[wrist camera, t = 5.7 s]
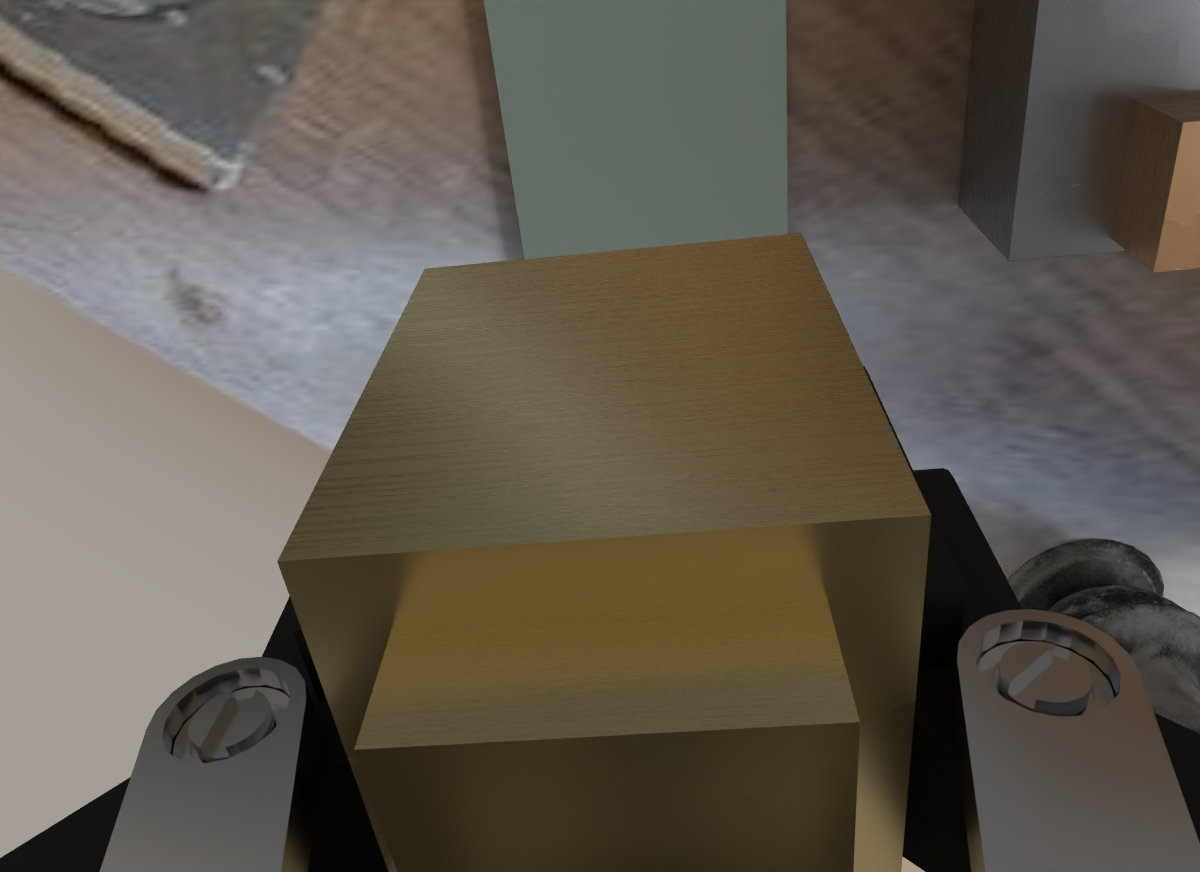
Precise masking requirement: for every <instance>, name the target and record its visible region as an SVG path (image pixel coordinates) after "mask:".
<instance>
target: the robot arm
mask: <svg viewBox="0 0 1200 872" xmlns="http://www.w3.org/2000/svg"><path fill="white" fill-rule="evenodd" d="M863 368H864V370H865V372H866V374H867V376H868V379H869V381H870V383H871V385H872V387H873V390H874V392H875V394H876V396H877V398H878V400H879V403H880V405H881V407H882V409H883V411H884V413H885V416H886V418H887V420H888V422H889V424H890V426H891V429H892V431H893V433H894V435H895V437H896V439H897V442H898V444H899V446H900V448H901V450H902V453H903V455H904V457H905V459H906V461H907V463H908V466H909V468H910V470H911V472H912V474H913V476H914V479H915V481H916V483H917V485H918V487H919V489H920V492H921V494H922V496H923V498H924V500H925V503H926V505H927V507H928V509H929V511H930V513H931V523H930V535H929V547H928V558H927V570H926V582H925V594H924V606H923V618H922V630H921V641H920V653H919V665H918V677H917V689H916V701H915V712H914V724H913V736H912V748H911V760H910V772H909V783H908V795H907V807H906V819H905V831H904V843H903V855H902V856H903V857H905V858H906V859H908V860H909V861H911V862H912V863H914V864H915V865H916V866H918V867H920V868H921V869H922V870H924V871H925V872H1200V734H1199V733H1197V732H1195V731H1193V730H1190V729H1188V728H1186V727H1184V726H1182V725H1180V724H1178V723H1176V722H1173V721H1171V720H1169V719H1167V718H1165V717H1163V716H1161V715H1159V714H1156V713H1154V712H1153V709H1152V706H1151V703H1150V700H1149V697H1148V695H1147V692H1146V689H1145V686H1144V683H1143V680H1142V677H1141V675H1140V672H1139V670H1138V669H1137V667H1136V665H1135V663H1134V662H1133V660H1132V658H1131V657H1130V655H1129V653H1128V652H1127V651H1126V650H1125V649H1124V648H1122V647H1121V646H1120V645H1119V644H1118V643H1117V642H1116V641H1115V640H1114V639H1113V638H1112V637H1111V636H1109V635H1107V634H1106V633H1104V632H1102V631H1101V630H1099V629H1097V628H1095V627H1094V626H1092V625H1090V624H1088V623H1087V622H1084V621H1081V620H1078V619H1075V618H1072V617H1069V616H1066V615H1064V614H1061V613H1055V612H1049V611H1042V610H1036V609H1022V608H1021V606H1020V604H1019V602H1018V600H1017V598H1016V596H1015V594H1014V592H1013V590H1012V588H1011V586H1010V585H1009V583H1008V581H1007V579H1006V577H1005V575H1004V573H1003V571H1002V569H1001V567H1000V565H999V564H998V562H997V560H996V558H995V556H994V554H993V552H992V550H991V548H990V546H989V544H988V542H987V541H986V539H985V537H984V535H983V533H982V531H981V529H980V527H979V525H978V523H977V521H976V520H975V518H974V516H973V514H972V512H971V510H970V508H969V506H968V504H967V502H966V500H965V498H964V497H963V495H962V493H961V491H960V489H959V487H958V485H957V483H956V481H955V479H954V478H953V476H952V475H951V473H950V472H949V471H948V470H946V469H944V468H941V469H928V470H914V471H913V469H912V467H911V465H910V463H909V461H908V459H907V456H906V454H905V452H904V450H903V448H902V446H901V443H900V441H899V439H898V437H897V435H896V433H895V430H894V428H893V426H892V424H891V422H890V420H889V417H888V415H887V413H886V411H885V409H884V407H883V405H882V402H881V400H880V398H879V396H878V394H877V392H876V389H875V387H874V385H873V383H872V381H871V379H870V376H869V374H868V372H867V370H866V368H865V367H864V366H863ZM0 872H388V869H387V866H386V863H385V861H384V858H383V855H382V852H381V849H380V847H379V844H378V841H377V838H376V835H375V833H374V830H373V827H372V824H371V821H370V819H369V816H368V813H367V810H366V808H365V805H364V802H363V799H362V796H361V794H360V791H359V788H358V785H357V782H356V780H355V777H354V774H353V771H352V768H351V766H350V763H349V760H348V757H347V754H346V752H345V749H344V746H343V743H342V740H341V738H340V735H339V732H338V729H337V727H336V724H335V721H334V718H333V715H332V713H331V710H330V707H329V704H328V701H327V699H326V696H325V693H324V690H323V687H322V685H321V682H320V679H319V676H318V673H317V671H316V668H315V665H314V662H313V660H312V657H311V654H310V651H309V648H308V646H307V643H306V640H305V637H304V634H303V632H302V629H301V626H300V623H299V620H298V618H297V615H296V612H295V609H294V606H293V604H292V601H291V598H290V597H289V599H288V601H287V603H286V606H285V608H284V610H283V612H282V614H281V616H280V619H279V621H278V623H277V625H276V627H275V629H274V631H273V634H272V636H271V638H270V640H269V642H268V644H267V647H266V649H265V651H264V653H263V655H262V657H255V658H242V659H238V660H234V661H230V662H227V663H223V664H220V665H217V666H214V667H213V668H211V669H208V670H206V671H204V672H202V673H200V674H198V675H196V676H194V677H193V678H191V679H190V680H189V681H187V682H186V683H184V684H183V685H182V686H180V687H179V688H178V689H176V690H175V691H174V692H172V693H171V695H170V696H169V697H168V698H167V699H166V700H165V701H164V702H163V704H161V706H160V707H159V708H158V709H157V710H156V712H155V714H154V716H153V718H152V720H151V722H150V723H149V725H148V727H147V729H146V732H145V735H144V739H143V741H142V745H141V748H140V751H139V754H138V757H137V760H136V763H135V766H134V769H133V772H132V775H131V777H130V778H129V779H127V780H125V781H124V782H122V783H120V784H119V785H117V786H116V787H114V788H112V789H111V790H109V791H108V792H106V793H104V794H103V795H101V796H100V797H98V798H96V799H95V800H93V801H92V802H90V803H88V804H87V805H85V806H83V807H82V808H80V809H79V810H77V811H75V812H74V813H72V814H71V815H69V816H67V817H66V818H64V819H63V820H61V821H59V822H58V823H56V824H54V825H53V826H51V827H50V828H48V829H47V830H45V831H43V832H42V833H40V834H38V835H37V836H35V837H34V838H32V839H30V840H29V841H27V842H26V843H24V844H22V845H21V846H19V847H17V848H16V849H14V850H13V851H11V852H9V853H8V854H6V855H5V856H3V857H1V858H0Z"/></svg>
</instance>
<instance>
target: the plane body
mask: <svg viewBox="0 0 1200 872" xmlns="http://www.w3.org/2000/svg"><path fill="white" fill-rule="evenodd" d="M959 208H960V209H961V210H962V211H963V212H964V213H965V214H966V215H967V216H968V217H969V218H970V219H971V221H972V222H973V223H974V224H975V225H976V226H977V227H978V228H979V229H980V230H981V231H982V232H983V234H984V235H985V236H986V237H987V238H988V239H989V240H990V241H991V242H992V243H993V244H994V245H995V247H996V248H997V249H998V250H999V251H1000V252H1001V253H1002V254H1003V255H1004V256H1005V257H1006V258H1007V260H1008V261H1015V260H1027V259H1038V258H1049V257H1061V256H1072V255H1084V254H1095V253H1107V252H1118V251H1127V252H1129V253H1130V254H1131V255H1132V256H1134V257H1135V258H1136V259H1137V260H1139V261H1140V262H1141V263H1142V264H1144V265H1145V266H1146V267H1148V268H1149V269H1150V270H1151V271H1153V272H1164V271H1176V270H1187V269H1199V268H1200V0H976V6H975V18H974V30H973V41H972V53H971V65H970V77H969V89H968V101H967V112H966V124H965V136H964V148H963V160H962V172H961V183H960V195H959Z"/></svg>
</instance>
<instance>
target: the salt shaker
mask: <svg viewBox="0 0 1200 872" xmlns="http://www.w3.org/2000/svg"><path fill="white" fill-rule="evenodd" d="M1008 583H1009V585H1010V586H1011V588H1012V590H1013V592H1014V594H1015V596H1016V598H1017V600H1018V602H1019V604H1020V606H1021V608H1022V609H1036V610H1042V611H1049V612H1055V613H1061V614H1064V615H1066V616H1069V617H1072V618H1075V619H1078V620H1081V621H1084V622H1087V623H1088V624H1090V625H1092V626H1094V627H1095V628H1097V629H1099V630H1101V631H1102V632H1104V633H1106V634H1107V635H1109V636H1111V637H1112V638H1113V639H1114V640H1115V641H1116V642H1117V643H1118V644H1119V645H1120V646H1121V647H1122V648H1124V649H1125V650H1126V651H1127V652H1128V653H1129V655H1130V657H1131V658H1132V660H1133V662H1134V663H1135V665H1136V667H1137V669H1138V670H1139V672H1140V675H1141V677H1142V680H1143V683H1144V686H1145V689H1146V692H1147V695H1148V697H1149V700H1150V703H1151V706H1152V709H1153V712H1154V713H1156V714H1159V715H1161V716H1163V717H1165V718H1167V719H1169V720H1171V721H1173V722H1176V723H1178V724H1180V725H1182V726H1184V727H1186V728H1188V729H1190V730H1193V731H1195V732H1197V733H1199V734H1200V617H1199V616H1197V615H1196V614H1194V613H1192V612H1189V611H1186V610H1185V609H1183V608H1182V607H1180V606H1178V605H1177V604H1175V603H1174V602H1172V601H1170V600H1168V599H1166V598H1165V597H1163V591H1164V585H1163V581H1162V578H1161V574H1160V571H1159V570H1158V568H1157V567H1156V566H1155V565H1154V563H1153V562H1152V561H1151V559H1150V558H1149V557H1148V556H1147V555H1145V554H1144V553H1142V552H1141V551H1139V550H1137V549H1136V548H1134V547H1133V546H1129V545H1126V544H1123V543H1119V542H1116V541H1108V540H1086V541H1079V542H1072V543H1067V544H1064V545H1062V546H1059V547H1056V548H1053V549H1050V550H1047V551H1045V552H1044V553H1042V554H1040V555H1038V556H1037V557H1035V558H1033V559H1031V560H1030V561H1028V562H1027V563H1026V564H1025V565H1023V566H1022V567H1021V568H1020V569H1019V570H1018V571H1017V572H1015V573H1014V574H1013V575H1012V576H1011V578H1010V579H1009V581H1008Z"/></svg>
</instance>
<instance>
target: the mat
mask: <svg viewBox="0 0 1200 872" xmlns="http://www.w3.org/2000/svg"><path fill="white" fill-rule="evenodd" d="M484 6H485V13H486V19H487V25H488V32H489V38H490V44H491V51H492V57H493V64H494V70H495V76H496V83H497V89H498V95H499V102H500V108H501V114H502V121H503V127H504V134H505V140H506V146H507V153H508V159H509V165H510V172H511V178H512V185H513V191H514V197H515V204H516V210H517V216H518V223H519V229H520V236H521V242H522V248H523V255H524V259H532V258H543V257H553V256H564V255H575V254H585V253H596V252H606V251H617V250H627V249H638V248H648V247H659V246H669V245H680V244H690V243H701V242H711V241H722V240H732V239H743V238H753V237H764V236H774V235H785V234H788V162H787V46H786V0H484Z"/></svg>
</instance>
